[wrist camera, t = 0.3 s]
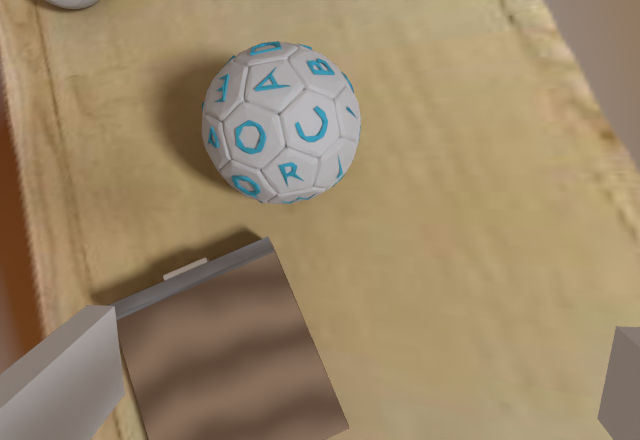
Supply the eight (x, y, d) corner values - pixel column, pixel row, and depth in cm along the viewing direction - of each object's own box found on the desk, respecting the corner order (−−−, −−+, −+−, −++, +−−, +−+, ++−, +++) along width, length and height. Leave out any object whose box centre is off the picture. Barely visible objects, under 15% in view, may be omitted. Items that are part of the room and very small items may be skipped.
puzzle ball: (200, 137, 52) (149, 54, 38) (315, 77, 54) (307, -24, 40) (262, 248, 48) (231, 202, 34) (383, 180, 50) (402, 109, 36)
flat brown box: (348, 425, 43) (349, 431, 40) (178, 506, 42) (163, 520, 38) (270, 240, 49) (265, 231, 45) (117, 306, 47) (99, 302, 44)
